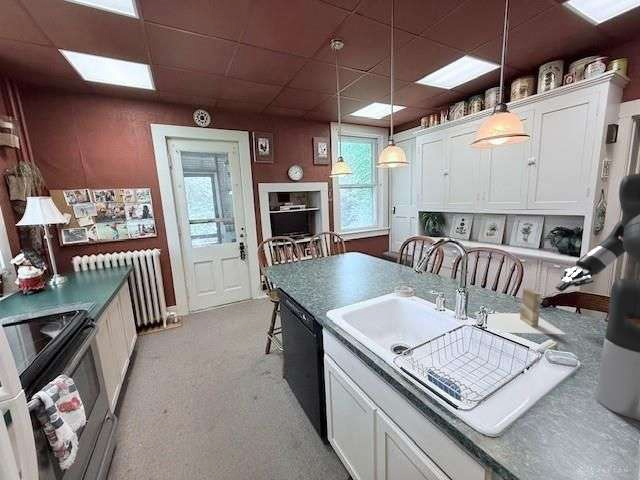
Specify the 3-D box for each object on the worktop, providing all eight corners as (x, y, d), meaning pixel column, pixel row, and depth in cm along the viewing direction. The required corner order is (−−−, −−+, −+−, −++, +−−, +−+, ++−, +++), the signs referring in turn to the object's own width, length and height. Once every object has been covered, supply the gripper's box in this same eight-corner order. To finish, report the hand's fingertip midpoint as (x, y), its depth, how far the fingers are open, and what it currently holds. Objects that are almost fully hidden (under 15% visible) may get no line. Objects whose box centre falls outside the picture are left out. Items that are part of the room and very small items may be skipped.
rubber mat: (533, 315, 119) (533, 313, 119) (566, 335, 102) (566, 334, 102) (473, 313, 122) (473, 312, 122) (495, 333, 104) (495, 332, 104)
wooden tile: (526, 319, 115) (530, 288, 112) (538, 326, 108) (542, 294, 106) (520, 318, 115) (523, 288, 113) (531, 326, 108) (534, 293, 106)
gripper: (575, 250, 111) (540, 278, 114) (605, 257, 98) (565, 288, 101) (587, 262, 111) (552, 290, 115) (619, 271, 98) (578, 302, 102)
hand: (558, 289), depth 108 cm, fingers closed
